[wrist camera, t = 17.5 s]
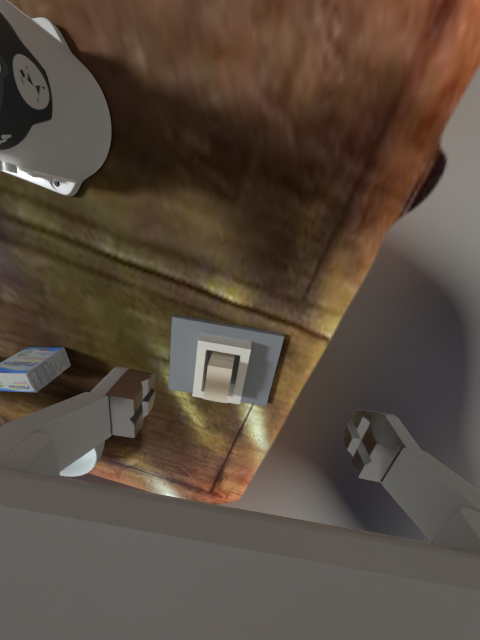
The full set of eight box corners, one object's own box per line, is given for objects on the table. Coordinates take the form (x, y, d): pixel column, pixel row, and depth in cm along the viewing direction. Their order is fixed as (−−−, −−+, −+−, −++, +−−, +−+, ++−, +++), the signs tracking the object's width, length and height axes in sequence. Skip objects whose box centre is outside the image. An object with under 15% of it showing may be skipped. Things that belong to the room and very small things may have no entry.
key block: (214, 346, 43) (207, 365, 38) (235, 350, 43) (232, 369, 38) (210, 377, 46) (203, 399, 40) (230, 381, 46) (226, 403, 40)
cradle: (170, 385, 49) (163, 399, 45) (174, 314, 43) (165, 323, 39) (265, 402, 49) (266, 417, 45) (283, 333, 42) (286, 344, 39)
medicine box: (65, 346, 47) (26, 372, 39) (72, 365, 49) (36, 393, 41) (28, 346, 48) (-18, 371, 40) (36, 364, 49) (-6, 392, 41)
